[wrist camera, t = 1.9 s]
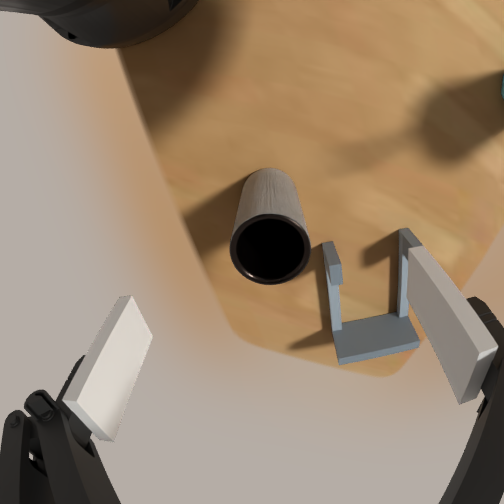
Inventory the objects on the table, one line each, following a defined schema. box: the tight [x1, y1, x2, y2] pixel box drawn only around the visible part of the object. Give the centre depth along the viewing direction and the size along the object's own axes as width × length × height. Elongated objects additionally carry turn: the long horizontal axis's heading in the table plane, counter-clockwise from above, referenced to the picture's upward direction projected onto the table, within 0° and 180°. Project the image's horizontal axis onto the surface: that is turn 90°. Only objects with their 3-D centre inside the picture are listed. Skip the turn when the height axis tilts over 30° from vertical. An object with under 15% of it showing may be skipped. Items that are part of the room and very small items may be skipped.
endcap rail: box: [322, 228, 423, 365], centre depth 29 cm, size 11×8×5 cm
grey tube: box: [230, 168, 311, 285], centre depth 22 cm, size 4×4×10 cm
